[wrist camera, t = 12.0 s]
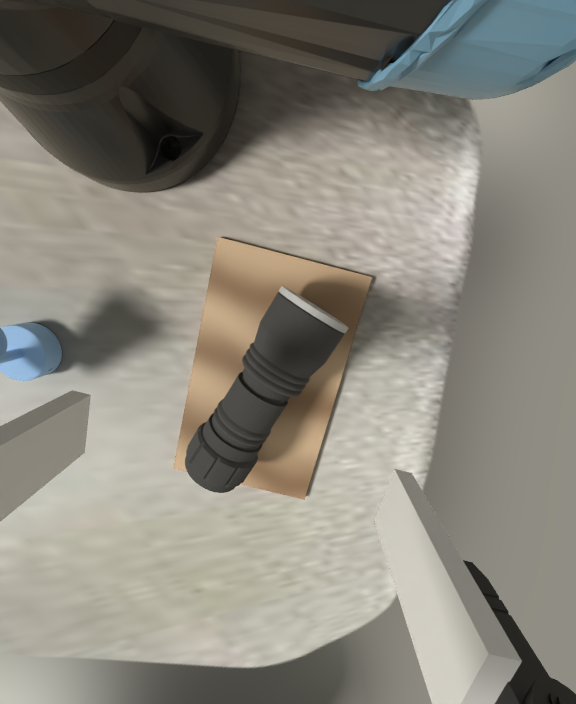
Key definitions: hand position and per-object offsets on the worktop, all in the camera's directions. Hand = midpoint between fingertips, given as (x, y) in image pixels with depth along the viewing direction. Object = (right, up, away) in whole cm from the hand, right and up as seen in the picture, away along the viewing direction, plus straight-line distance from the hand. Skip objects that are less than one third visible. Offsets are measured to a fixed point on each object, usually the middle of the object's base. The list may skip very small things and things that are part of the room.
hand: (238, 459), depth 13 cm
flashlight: (0, +2, +12) cm, 13 cm away
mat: (0, +2, +13) cm, 13 cm away
